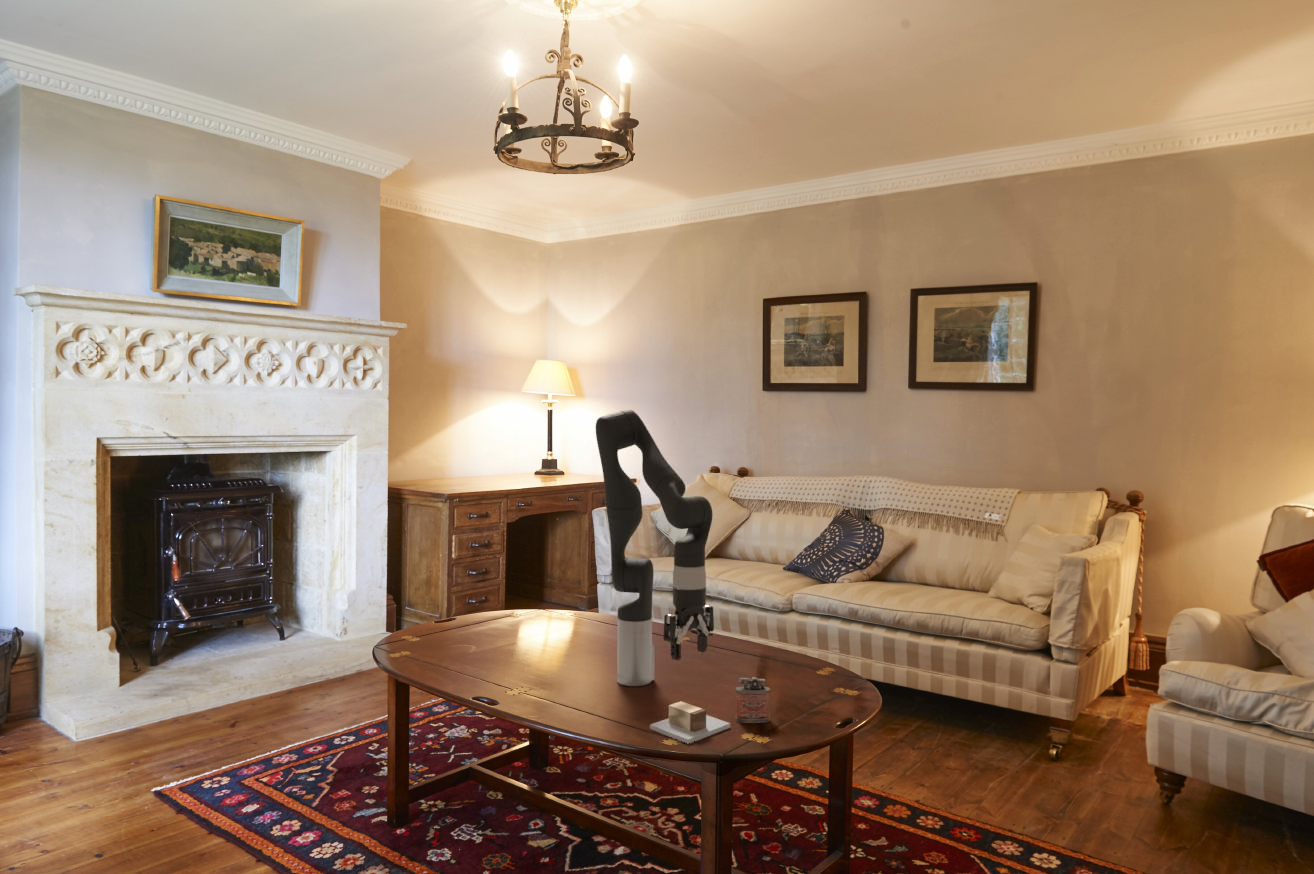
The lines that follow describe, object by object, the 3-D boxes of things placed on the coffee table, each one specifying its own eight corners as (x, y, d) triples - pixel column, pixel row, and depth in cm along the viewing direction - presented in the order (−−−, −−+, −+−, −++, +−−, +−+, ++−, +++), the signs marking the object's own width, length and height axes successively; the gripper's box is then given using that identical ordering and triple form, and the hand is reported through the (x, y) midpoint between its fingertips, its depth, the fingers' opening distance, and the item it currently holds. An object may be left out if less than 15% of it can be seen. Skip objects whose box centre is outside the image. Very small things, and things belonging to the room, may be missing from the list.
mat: (692, 713, 197) (692, 709, 197) (730, 727, 188) (730, 723, 188) (649, 728, 187) (649, 724, 187) (688, 743, 178) (688, 739, 178)
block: (668, 722, 188) (668, 705, 188) (680, 718, 191) (680, 701, 191) (694, 732, 183) (694, 714, 183) (706, 727, 185) (706, 709, 185)
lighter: (768, 717, 195) (768, 675, 195) (770, 722, 192) (771, 679, 191) (734, 717, 195) (735, 675, 194) (736, 722, 191) (736, 680, 191)
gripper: (698, 577, 194) (698, 645, 194) (655, 586, 184) (655, 658, 184) (722, 582, 189) (722, 652, 189) (679, 591, 179) (679, 665, 179)
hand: (689, 655), depth 187 cm, fingers open, 8 cm apart
